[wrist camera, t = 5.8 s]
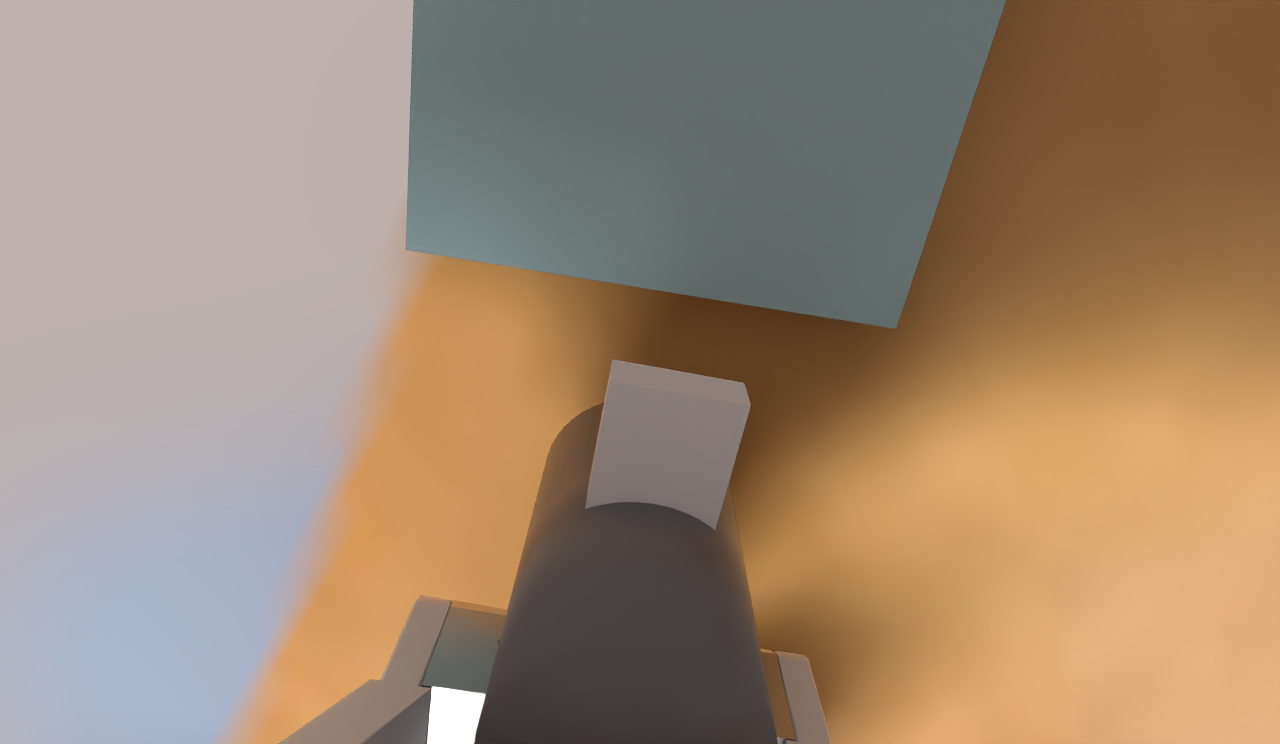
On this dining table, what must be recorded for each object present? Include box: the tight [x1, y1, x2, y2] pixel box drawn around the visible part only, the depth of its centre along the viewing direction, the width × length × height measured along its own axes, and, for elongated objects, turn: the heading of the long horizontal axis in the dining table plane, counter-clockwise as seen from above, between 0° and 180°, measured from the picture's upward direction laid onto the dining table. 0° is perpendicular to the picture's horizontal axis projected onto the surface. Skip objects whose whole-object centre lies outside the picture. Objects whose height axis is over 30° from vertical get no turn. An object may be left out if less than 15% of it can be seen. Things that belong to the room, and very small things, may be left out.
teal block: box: [406, 0, 1006, 329], centre depth 10 cm, size 8×8×1 cm
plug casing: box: [474, 359, 778, 744], centre depth 10 cm, size 3×9×5 cm, turn 169°
